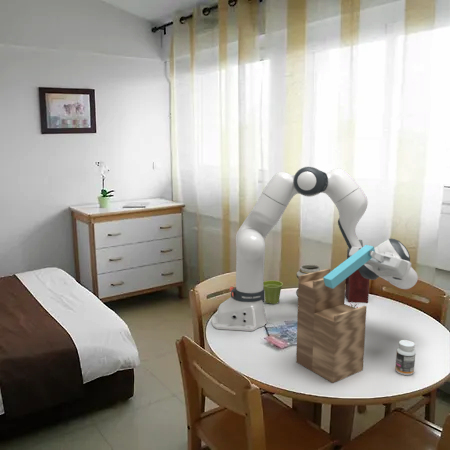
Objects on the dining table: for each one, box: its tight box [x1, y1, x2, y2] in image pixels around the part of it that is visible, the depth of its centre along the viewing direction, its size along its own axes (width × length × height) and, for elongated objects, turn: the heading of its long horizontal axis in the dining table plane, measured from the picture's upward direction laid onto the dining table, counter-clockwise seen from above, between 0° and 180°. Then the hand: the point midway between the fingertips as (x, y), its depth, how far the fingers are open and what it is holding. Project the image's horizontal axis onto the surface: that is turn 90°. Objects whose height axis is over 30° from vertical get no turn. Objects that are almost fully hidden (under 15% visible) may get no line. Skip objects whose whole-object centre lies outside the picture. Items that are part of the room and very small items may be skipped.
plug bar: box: [323, 244, 375, 289], centre depth 152 cm, size 21×3×3 cm, turn 124°
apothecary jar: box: [295, 263, 321, 298], centre depth 210 cm, size 12×12×18 cm
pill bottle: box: [395, 339, 416, 376], centre depth 154 cm, size 6×6×10 cm
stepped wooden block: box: [295, 268, 367, 384], centre depth 155 cm, size 14×16×30 cm
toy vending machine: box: [345, 239, 370, 304], centre depth 217 cm, size 9×11×28 cm
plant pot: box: [263, 280, 284, 305], centre depth 216 cm, size 9×9×9 cm
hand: (364, 251), depth 155 cm, fingers closed on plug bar, 3 cm apart
